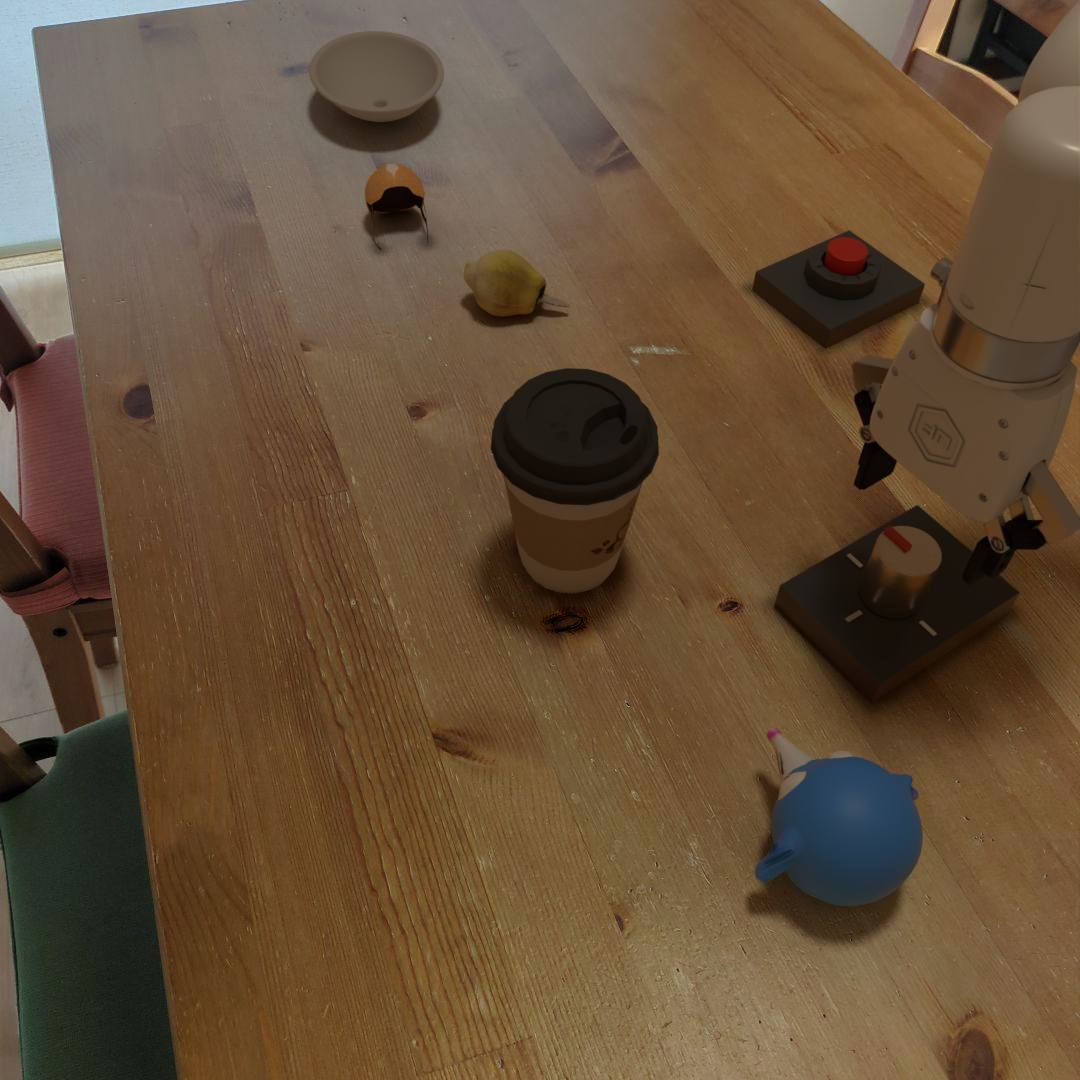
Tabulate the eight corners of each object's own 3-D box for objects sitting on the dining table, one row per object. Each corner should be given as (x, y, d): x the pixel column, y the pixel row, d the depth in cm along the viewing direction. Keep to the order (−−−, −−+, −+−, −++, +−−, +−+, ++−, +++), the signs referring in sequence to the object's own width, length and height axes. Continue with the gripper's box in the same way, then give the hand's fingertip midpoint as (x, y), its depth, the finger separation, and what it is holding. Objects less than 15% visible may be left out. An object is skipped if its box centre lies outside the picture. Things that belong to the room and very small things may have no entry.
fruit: (564, 337, 101) (455, 316, 100) (566, 312, 106) (462, 291, 105) (576, 277, 97) (464, 254, 97) (578, 253, 102) (471, 232, 102)
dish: (302, 83, 128) (296, 40, 125) (423, 65, 131) (420, 23, 128) (333, 164, 118) (326, 120, 114) (464, 142, 121) (462, 99, 117)
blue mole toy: (830, 724, 75) (860, 655, 69) (949, 873, 69) (994, 812, 62) (682, 800, 72) (698, 735, 65) (792, 965, 65) (823, 911, 59)
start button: (844, 248, 104) (848, 232, 102) (871, 268, 102) (876, 252, 100) (815, 261, 102) (819, 245, 101) (843, 281, 100) (847, 265, 99)
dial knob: (934, 601, 79) (957, 555, 75) (889, 629, 77) (910, 583, 73) (890, 560, 81) (910, 513, 77) (845, 586, 80) (863, 539, 76)
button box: (844, 248, 110) (853, 213, 106) (918, 302, 104) (931, 267, 101) (751, 290, 105) (758, 255, 102) (824, 349, 100) (834, 313, 97)
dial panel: (908, 525, 87) (918, 503, 85) (1008, 612, 82) (1021, 590, 80) (773, 605, 82) (780, 583, 80) (870, 703, 76) (880, 682, 74)
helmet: (431, 254, 113) (417, 178, 113) (435, 232, 106) (420, 151, 106) (374, 262, 112) (360, 185, 112) (375, 240, 105) (359, 158, 105)
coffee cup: (601, 642, 79) (615, 503, 68) (465, 579, 83) (456, 437, 71) (668, 535, 86) (691, 392, 74) (539, 481, 89) (542, 336, 78)
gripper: (845, 266, 64) (794, 468, 77) (1092, 447, 55) (986, 641, 68) (937, 222, 66) (872, 425, 80) (1188, 387, 57) (1067, 585, 71)
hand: (924, 524), depth 74 cm, fingers open, 9 cm apart
